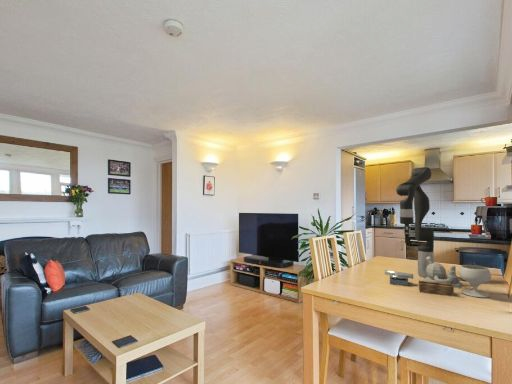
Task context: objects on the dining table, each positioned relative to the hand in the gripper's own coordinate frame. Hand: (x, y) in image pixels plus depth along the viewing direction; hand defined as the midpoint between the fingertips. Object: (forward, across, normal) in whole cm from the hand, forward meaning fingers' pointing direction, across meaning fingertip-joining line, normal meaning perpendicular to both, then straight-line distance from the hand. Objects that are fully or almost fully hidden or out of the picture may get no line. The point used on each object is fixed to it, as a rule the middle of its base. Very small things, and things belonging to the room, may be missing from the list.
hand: (407, 242), depth 173 cm
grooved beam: (+26, -12, -14) cm, 31 cm away
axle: (+20, -1, +5) cm, 21 cm away
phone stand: (+27, +24, -36) cm, 51 cm away
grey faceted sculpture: (+27, +12, -19) cm, 35 cm away
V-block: (+26, -1, +5) cm, 27 cm away
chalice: (+26, -6, -32) cm, 42 cm away
